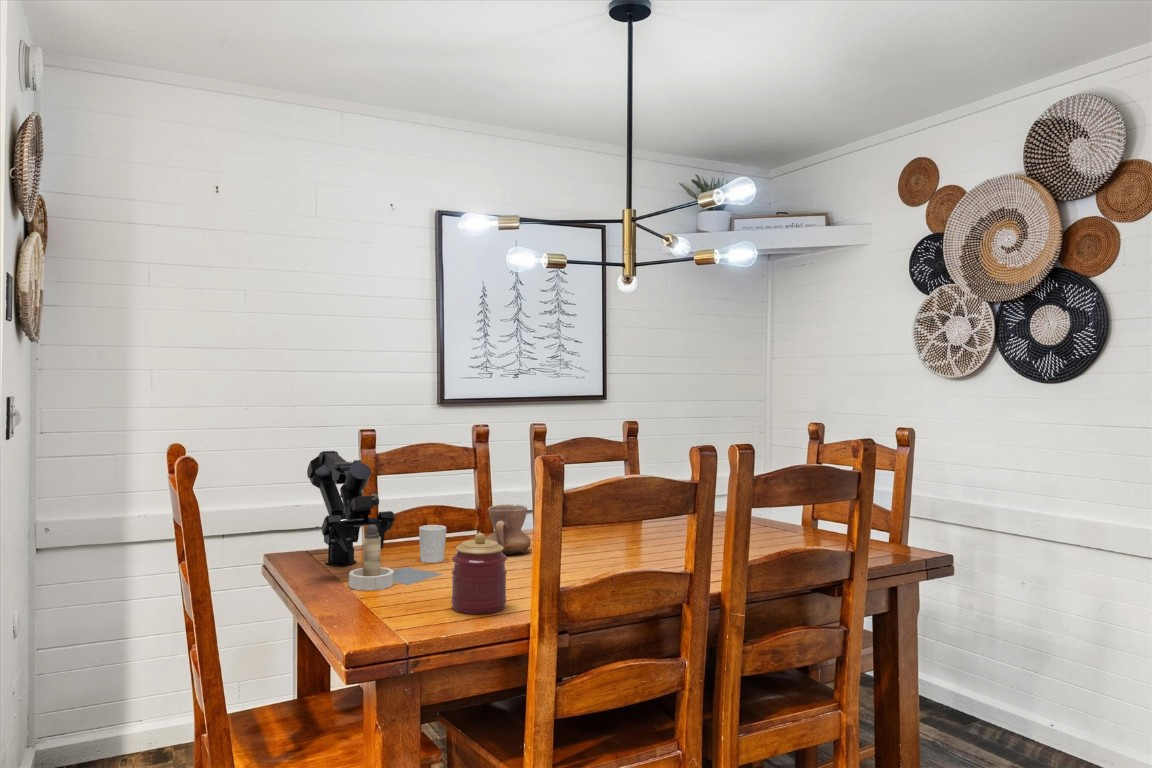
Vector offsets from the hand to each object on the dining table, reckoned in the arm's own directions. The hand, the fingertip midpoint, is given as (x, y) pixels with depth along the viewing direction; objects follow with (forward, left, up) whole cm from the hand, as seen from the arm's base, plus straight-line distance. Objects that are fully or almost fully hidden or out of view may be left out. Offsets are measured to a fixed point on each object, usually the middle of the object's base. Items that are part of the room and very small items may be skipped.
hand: (365, 549), depth 212 cm
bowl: (+5, -3, -8) cm, 10 cm away
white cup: (+5, +28, -9) cm, 29 cm away
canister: (+39, -9, -9) cm, 41 cm away
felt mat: (+8, +9, -8) cm, 14 cm away
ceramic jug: (+20, +48, -9) cm, 52 cm away
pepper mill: (+4, -3, -8) cm, 9 cm away
